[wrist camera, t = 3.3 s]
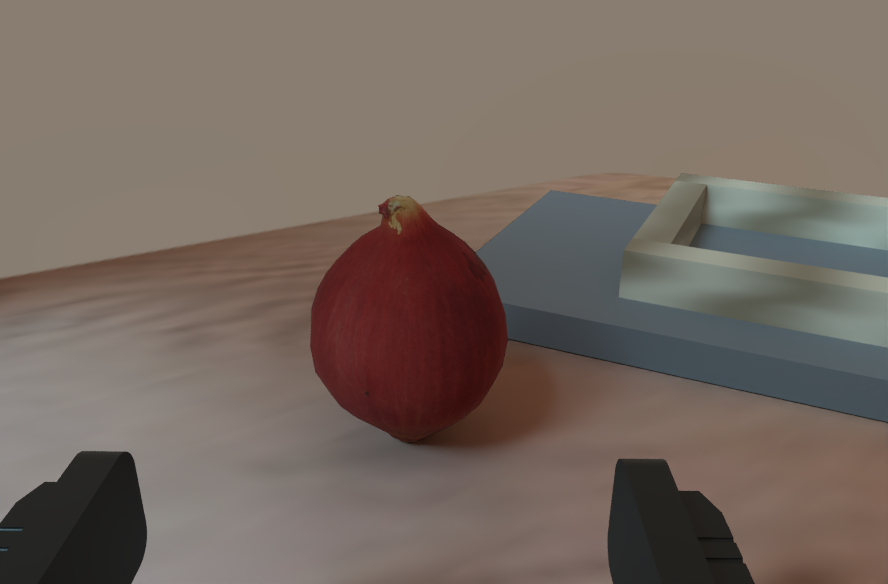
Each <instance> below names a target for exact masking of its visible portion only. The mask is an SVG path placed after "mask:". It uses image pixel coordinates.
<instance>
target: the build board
mask: <svg viewBox="0 0 888 584" xmlns="http://www.w3.org/2000/svg"><path fill="white" fill-rule="evenodd" d="M656 206H657V205H653V204H646V203H639V202H632V201H624V200H617V199H610V198H603V197H595V196H588V195H581V194H574V193H566V192H559V191H552V190H551V191H549V192H548V193H547V194H546V195H545V196H543V197H542V198H541V199H540V200H539V201H537V202H536V203H535V204H534V205H532V206H531V207H530V208H529V209H528V210H526V211H525V212H524V213H523V214H522V215H520V216H519V217H518V218H517V219H515V220H514V221H513V222H512V223H511V224H509V225H508V226H507V227H506V228H505V229H503V230H502V231H501V232H500V233H498V234H497V235H496V236H495V237H494V238H492V239H491V240H490V241H489V242H488V243H486V244H485V245H484V246H483V247H481V248H480V249H479V250H478V251H477V252H475V253H476V254H477V255H478V256H479V258H480V259H481V260H482V261H483V262H484V264H485V265H486V267H487V268H488V270H489V272H490V273H491V275H492V277H493V278H494V281H495V284H496V287H497V290H498V293H499V296H500V299H501V302H502V305H503V308H504V311H505V314H506V324H507V335H508V339H512V340H516V341H521V342H526V343H530V344H535V345H539V346H544V347H548V348H553V349H557V350H562V351H567V352H571V353H576V354H580V355H585V356H589V357H594V358H598V359H603V360H607V361H612V362H617V363H621V364H626V365H630V366H635V367H639V368H644V369H648V370H653V371H658V372H662V373H667V374H671V375H676V376H680V377H685V378H689V379H694V380H698V381H703V382H708V383H712V384H717V385H721V386H726V387H730V388H735V389H739V390H744V391H748V392H753V393H758V394H762V395H767V396H771V397H776V398H780V399H785V400H789V401H794V402H799V403H803V404H808V405H812V406H817V407H821V408H826V409H830V410H835V411H839V412H844V413H849V414H853V415H858V416H862V417H867V418H871V419H876V420H880V421H885V422H888V348H887V347H882V346H876V345H871V344H865V343H860V342H855V341H849V340H844V339H839V338H833V337H828V336H823V335H817V334H812V333H807V332H801V331H796V330H791V329H785V328H780V327H774V326H769V325H764V324H758V323H753V322H748V321H742V320H737V319H732V318H726V317H721V316H716V315H710V314H705V313H700V312H694V311H689V310H684V309H678V308H673V307H667V306H662V305H657V304H651V303H646V302H641V301H635V300H630V299H625V298H619V288H620V278H621V269H622V259H623V250H624V249H625V247H626V246H627V245H628V243H629V242H630V241H631V239H632V238H633V237H634V235H635V234H636V233H637V231H638V230H639V229H640V227H641V226H642V225H643V223H644V222H645V221H646V219H647V218H648V217H649V215H650V214H651V213H652V211H653V210H654V209H655V207H656ZM689 247H694V248H701V249H707V250H714V251H720V252H727V253H733V254H739V255H746V256H752V257H759V258H765V259H771V260H778V261H784V262H791V263H797V264H803V265H810V266H816V267H823V268H829V269H836V270H842V271H848V272H855V273H861V274H868V275H874V276H880V277H887V278H888V250H882V249H875V248H868V247H861V246H854V245H847V244H840V243H833V242H826V241H819V240H812V239H805V238H799V237H792V236H785V235H778V234H771V233H764V232H757V231H750V230H743V229H736V228H729V227H722V226H715V225H708V224H701V225H700V227H699V229H698V230H697V232H696V234H695V236H694V238H693V239H692V241H691V243H690V245H689Z"/></svg>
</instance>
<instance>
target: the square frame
mask: <svg viewBox="0 0 888 584" xmlns="http://www.w3.org/2000/svg"><path fill="white" fill-rule="evenodd" d="M701 224H708V225H715V226H722V227H729V228H736V229H743V230H750V231H757V232H764V233H771V234H778V235H785V236H792V237H799V238H805V239H812V240H819V241H826V242H833V243H840V244H847V245H854V246H861V247H868V248H875V249H882V250H888V198H883V197H882V198H881V197H874V196H865V195H857V194H849V193H841V192H833V191H825V190H816V189H808V188H800V187H792V186H783V185H775V184H767V183H758V182H750V181H741V180H734V179H725V178H717V177H708V176H700V175H692V174H684V173H681V174H680V176H679V177H678V178H677V180H676V181H675V182H674V184H673V185H672V186H671V188H670V189H669V190H668V192H667V193H666V194H665V195H664V197H663V198H662V199H661V201H660V202H659V203H658V205H657V206H656V207H655V209H654V210H653V211H652V213H651V214H650V215H649V217H648V218H647V219H646V221H645V222H644V223H643V225H642V226H641V227H640V229H639V230H638V231H637V233H636V234H635V235H634V237H633V238H632V239H631V241H630V242H629V243H628V245H627V246H626V247H625V249H624V250H623V259H622V269H621V278H620V288H619V298H625V299H630V300H635V301H641V302H646V303H651V304H657V305H662V306H667V307H673V308H678V309H684V310H689V311H694V312H700V313H705V314H710V315H716V316H721V317H726V318H732V319H737V320H742V321H748V322H753V323H758V324H764V325H769V326H774V327H780V328H785V329H791V330H796V331H801V332H807V333H812V334H817V335H823V336H828V337H833V338H839V339H844V340H849V341H855V342H860V343H865V344H871V345H876V346H882V347H887V348H888V278H887V277H880V276H874V275H868V274H861V273H855V272H848V271H842V270H836V269H829V268H823V267H816V266H810V265H803V264H797V263H791V262H784V261H778V260H771V259H765V258H759V257H752V256H746V255H739V254H733V253H727V252H720V251H714V250H707V249H701V248H694V247H689V245H690V243H691V241H692V239H693V238H694V236H695V234H696V232H697V230H698V229H699V227H700V225H701Z"/></svg>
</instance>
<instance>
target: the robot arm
mask: <svg viewBox="0 0 888 584" xmlns="http://www.w3.org/2000/svg"><path fill="white" fill-rule="evenodd" d="M146 541H147V526H146V520H145V514H144V509H143V504H142V499H141V493H140V488H139V483H138V478H137V473H136V467H135V463H134V459H133V457H132V455H131V454H130V453H129V452H105V451H82V452H80V453H78V454H77V455H76V456H75V457H74V459H73V460H72V462H71V463H70V464H69V466H68V467H67V469H66V470H65V471H64V473H63V474H62V475H61V477H60V478H59V480H58V481H57V482H44V483H43V484H41V485H40V486H38V487H37V488H36V489H34V490H33V491H32V492H30V493H29V494H27V495H26V496H25V497H23V498H22V499H20V500H19V501H18V502H16V503H15V505H14V506H13V507H12V509H11V510H10V511H9V512H8V514H7V515H6V516H5V518H4V519H3V520H2V522H1V523H0V584H131V583H132V581H133V579H134V577H135V575H136V573H137V571H138V569H139V567H140V565H141V563H142V560H143V557H144V553H145V548H146ZM608 559H609V567H610V572H611V576H612V580H613V584H755V583H754V581H753V579H752V577H751V575H750V573H749V570H748V568H747V566H746V564H745V563H743V557H742V555H741V553H740V551H739V549H738V547H737V544H736V543H734V541H733V536H732V534H731V531H730V529H729V527H728V525H727V523H726V521H725V518H724V516H723V514H722V512H720V511H719V510H718V509H717V508H716V507H715V506H714V505H713V504H712V503H711V502H710V501H709V500H708V499H707V498H706V497H705V496H704V495H703V494H702V493H700V492H699V491H678V489H677V486H676V484H675V481H674V479H673V476H672V474H671V471H670V469H669V466H668V464H667V462H666V461H665V460H664V459H618V461H617V464H616V468H615V476H614V485H613V493H612V502H611V511H610V519H609V528H608Z"/></svg>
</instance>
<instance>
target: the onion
mask: <svg viewBox="0 0 888 584" xmlns="http://www.w3.org/2000/svg"><path fill="white" fill-rule="evenodd" d="M378 207H379V213H380V214H383V216H382V222H381V225H380V226H379V227H377V228H375V229H373V230H372V231H370V232H368V233H366V234H364V235H363V236H361V237H360V238H359V239H358V240H356V241H355V242H354V243H353V244H352V245H351V246H350V247H349V248H348V249H347V250H346V251H345V252H344V253H343V254H342V255H341V256H340V257H339V258H338V259H337V260H336V262H335V263H334V264H333V265H332V267H331V268H330V269H329V270H328V272H327V273H326V274H325V276H324V278H323V280H322V282H321V283H320V285H319V287H318V289H317V292H316V295H315V299H314V302H313V305H312V310H311V342H310V347H311V352H312V357H313V362H314V367H315V372H316V373H317V375H318V376H319V378H320V379H321V381H322V382H323V383H324V385H325V386H326V388H327V389H328V391H329V392H330V393H331V395H332V396H333V397H334V398H335V400H336V401H337V402H338V403H339V405H340V406H341V407H342V408H344V409H345V410H347V411H348V412H350V413H351V414H352V415H354V416H355V417H357V418H358V419H361V420H363V421H365V422H367V423H369V424H371V425H373V426H375V427H377V428H379V429H381V430H383V431H385V432H387V433H389V434H390V435H391V436H392V437H394V438H396V439H398V440H400V441H403V442H415V441H417V440H420V439H423V438H426V437H427V436H429V435H431V434H434V433H436V432H438V431H440V430H443V429H445V428H447V427H449V426H451V425H452V424H454V423H456V422H458V421H460V420H462V419H463V418H464V417H465V416H467V415H468V414H469V413H470V412H471V411H473V410H474V409H475V408H476V407H478V406H479V405H480V403H481V402H482V400H483V399H484V397H485V395H486V394H487V392H488V391H489V389H490V388H491V386H492V384H493V383H494V381H495V379H496V377H497V375H498V373H499V371H500V370H501V368H502V365H503V361H504V356H505V351H506V347H507V342H508V335H507V324H506V314H505V311H504V308H503V305H502V302H501V299H500V296H499V293H498V290H497V287H496V284H495V281H494V278H493V277H492V275H491V273H490V272H489V270H488V268H487V267H486V265H485V264H484V262H483V261H482V260H481V259H480V258H479V256H478V255H477V254H476V253H475V252H474V251H473V250H472V249H471V248H470V247H469V246H468V245H467V244H466V243H465V242H464V241H463V240H462V239H460V238H459V237H457V236H456V235H455V234H453V233H452V232H450V231H448V230H447V229H445V228H444V227H442V226H440V225H439V224H438V223H436V222H435V221H434V220H433V219H432V218H431V217H430V216H429V215H428V214H427V212H426V211H425V210H424V209H423V208H422V207H421V206H420V205H419V204H418V203H417V202H416V201H415V200H414V199H412V198H411V197H409V196H408V197H405V196H399V195H396V196H394V197H392V198H389V199H387V200H386V201H385V202H384V203H383V204H381V205H379V206H378Z"/></svg>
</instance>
